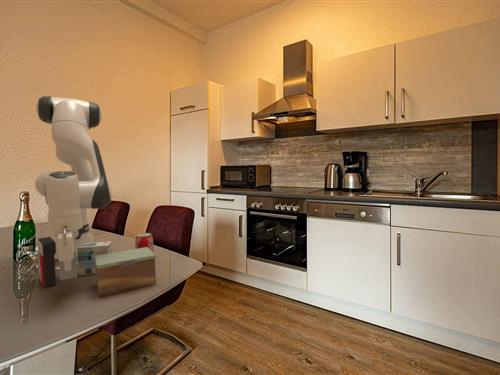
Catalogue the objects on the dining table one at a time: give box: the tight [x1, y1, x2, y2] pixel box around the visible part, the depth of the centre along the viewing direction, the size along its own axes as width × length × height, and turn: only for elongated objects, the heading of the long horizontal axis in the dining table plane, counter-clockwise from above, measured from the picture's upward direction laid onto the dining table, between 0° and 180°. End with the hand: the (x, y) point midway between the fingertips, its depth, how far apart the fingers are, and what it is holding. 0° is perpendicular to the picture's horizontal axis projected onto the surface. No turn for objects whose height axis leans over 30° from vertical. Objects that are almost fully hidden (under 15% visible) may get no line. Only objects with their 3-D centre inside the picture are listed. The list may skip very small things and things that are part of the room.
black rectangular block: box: [36, 236, 57, 288], centre depth 95 cm, size 11×4×15 cm, turn 45°
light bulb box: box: [77, 240, 113, 276], centre depth 105 cm, size 11×7×11 cm, turn 106°
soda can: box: [134, 232, 155, 254], centre depth 114 cm, size 7×7×12 cm
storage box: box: [95, 258, 157, 298], centre depth 93 cm, size 12×17×9 cm
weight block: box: [58, 252, 78, 281], centre depth 86 cm, size 4×4×7 cm
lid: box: [95, 247, 157, 269], centre depth 92 cm, size 13×17×2 cm
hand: (68, 266), depth 86 cm, fingers closed on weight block, 4 cm apart
